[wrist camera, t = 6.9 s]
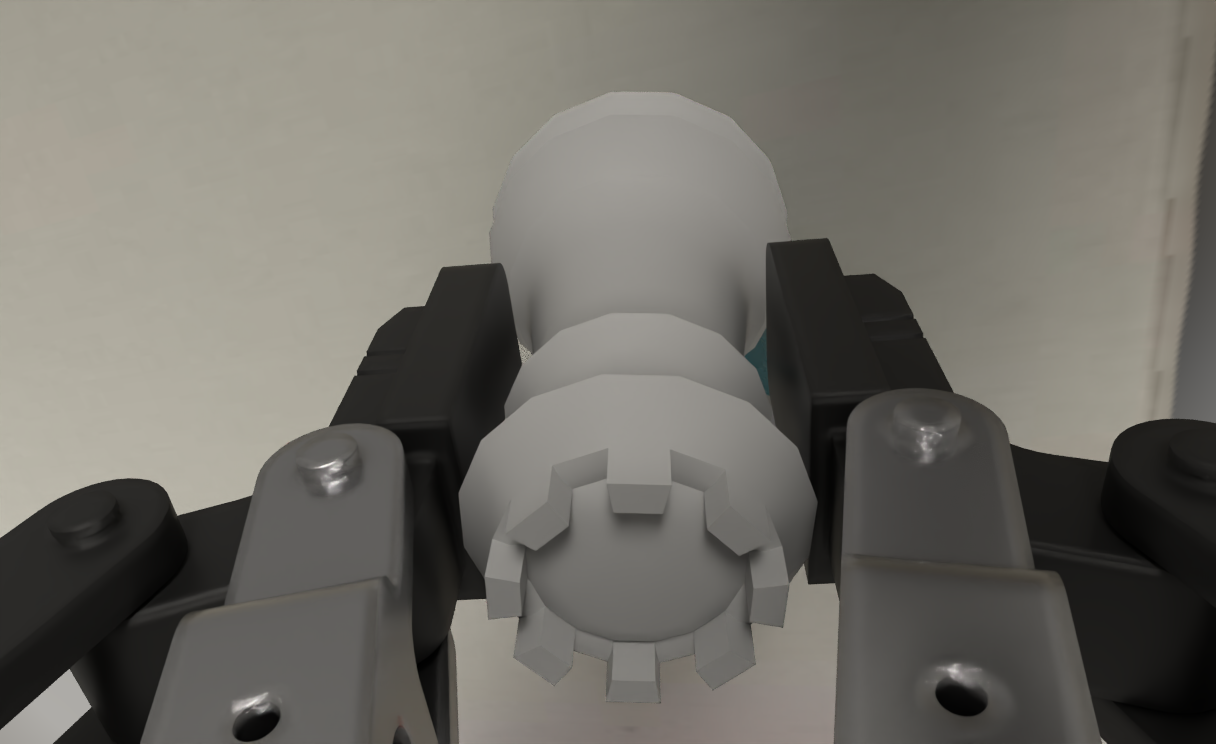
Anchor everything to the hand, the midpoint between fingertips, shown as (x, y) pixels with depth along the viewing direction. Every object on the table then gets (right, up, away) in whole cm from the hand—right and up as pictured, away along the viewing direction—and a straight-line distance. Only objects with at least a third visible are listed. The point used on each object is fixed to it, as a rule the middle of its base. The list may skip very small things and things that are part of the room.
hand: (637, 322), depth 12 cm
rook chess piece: (0, +2, +3) cm, 3 cm away
